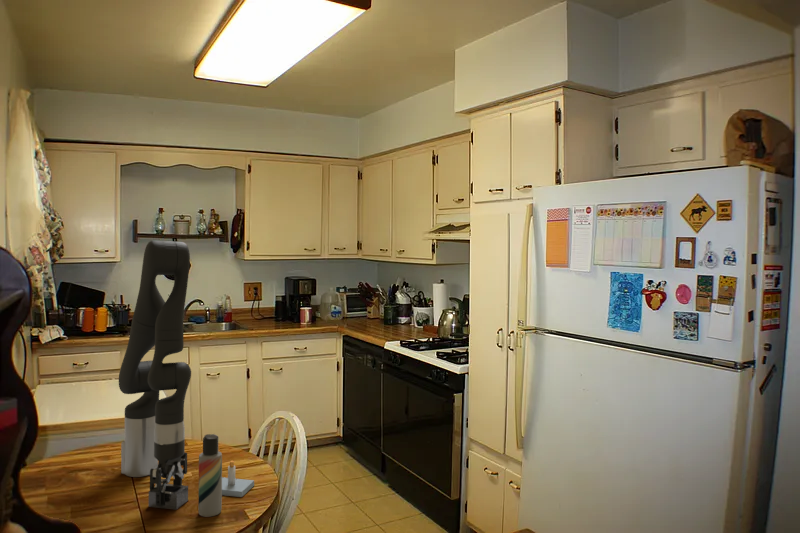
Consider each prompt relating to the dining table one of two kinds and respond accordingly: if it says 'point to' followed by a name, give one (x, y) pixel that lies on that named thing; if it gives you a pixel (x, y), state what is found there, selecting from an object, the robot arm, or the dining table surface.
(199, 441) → the dining table surface
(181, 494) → the link
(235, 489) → the grey base with peg
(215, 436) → the lotion bottle
